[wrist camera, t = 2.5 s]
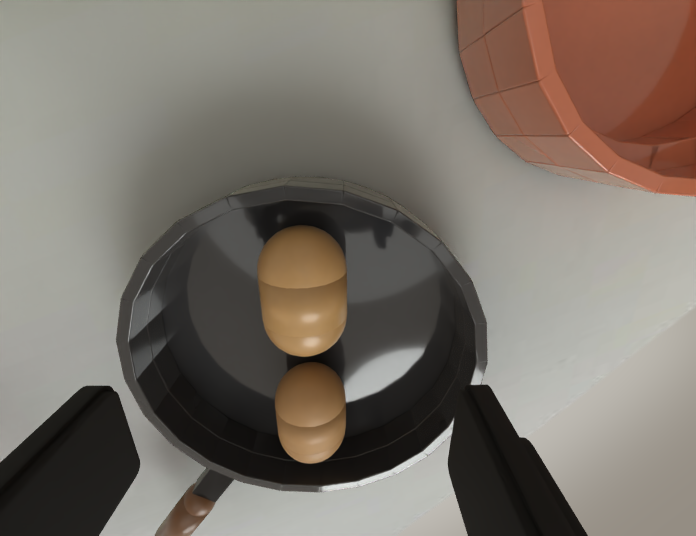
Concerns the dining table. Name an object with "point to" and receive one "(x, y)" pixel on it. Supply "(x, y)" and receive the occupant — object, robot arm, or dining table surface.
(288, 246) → the potato
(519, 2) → the bowl
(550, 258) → the dining table surface
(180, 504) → the skillet handle
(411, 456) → the skillet
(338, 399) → the potato
